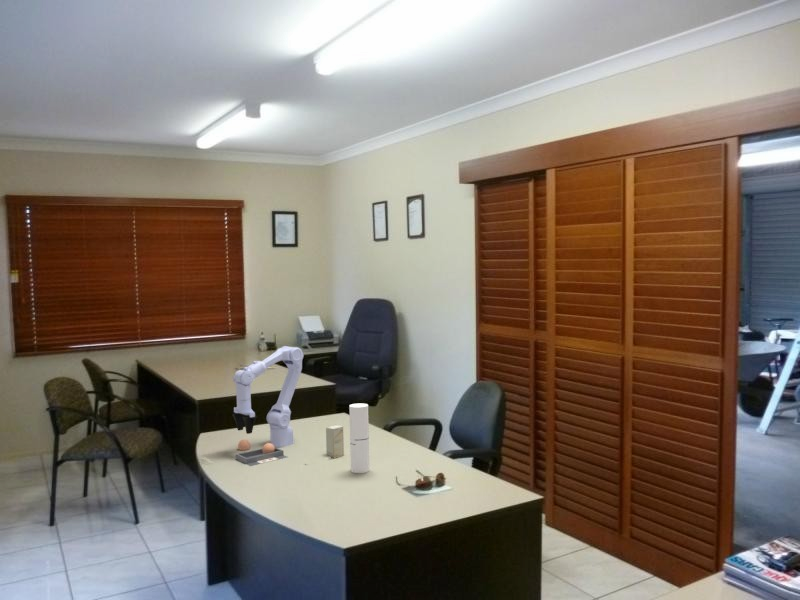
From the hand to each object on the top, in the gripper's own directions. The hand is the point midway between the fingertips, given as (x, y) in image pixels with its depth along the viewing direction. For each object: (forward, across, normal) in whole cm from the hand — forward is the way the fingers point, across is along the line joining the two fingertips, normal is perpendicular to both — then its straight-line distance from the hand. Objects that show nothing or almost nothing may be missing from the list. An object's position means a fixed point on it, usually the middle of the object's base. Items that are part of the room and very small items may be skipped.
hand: (244, 431), depth 265 cm
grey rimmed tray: (+10, +11, +2) cm, 15 cm away
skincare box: (+10, +27, +26) cm, 39 cm away
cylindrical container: (+10, +49, +22) cm, 55 cm away
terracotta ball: (+10, -6, +3) cm, 12 cm away
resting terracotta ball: (+9, +9, +6) cm, 14 cm away
